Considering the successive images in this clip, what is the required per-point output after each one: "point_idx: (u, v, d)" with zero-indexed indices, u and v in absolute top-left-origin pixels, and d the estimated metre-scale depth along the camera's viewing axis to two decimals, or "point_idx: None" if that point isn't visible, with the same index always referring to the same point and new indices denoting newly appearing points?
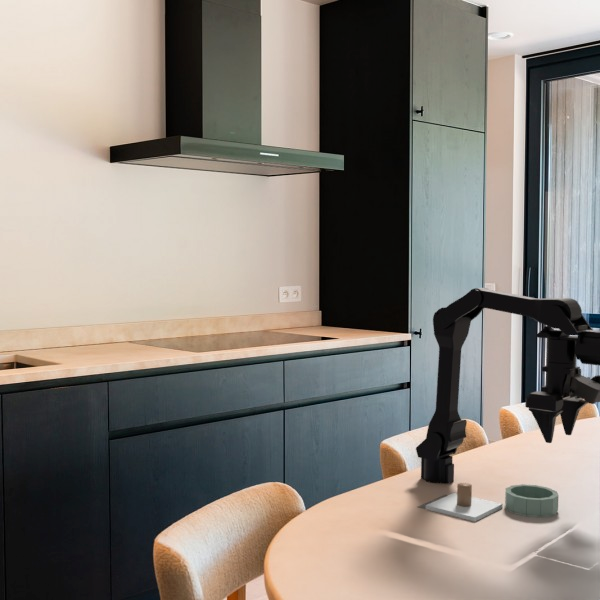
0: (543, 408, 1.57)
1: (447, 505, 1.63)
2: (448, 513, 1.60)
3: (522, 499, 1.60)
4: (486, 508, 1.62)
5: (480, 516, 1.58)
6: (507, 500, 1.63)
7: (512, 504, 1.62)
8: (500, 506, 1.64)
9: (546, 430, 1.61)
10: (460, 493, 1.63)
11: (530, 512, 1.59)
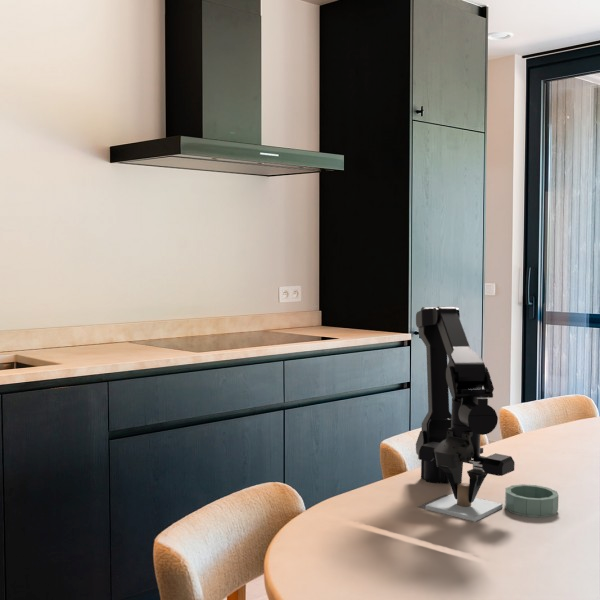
0: None
1: (447, 505, 1.63)
2: (448, 513, 1.60)
3: (522, 499, 1.60)
4: (486, 508, 1.62)
5: (480, 516, 1.58)
6: (507, 500, 1.63)
7: (512, 504, 1.62)
8: (500, 506, 1.64)
9: None
10: (460, 493, 1.63)
11: (530, 512, 1.59)
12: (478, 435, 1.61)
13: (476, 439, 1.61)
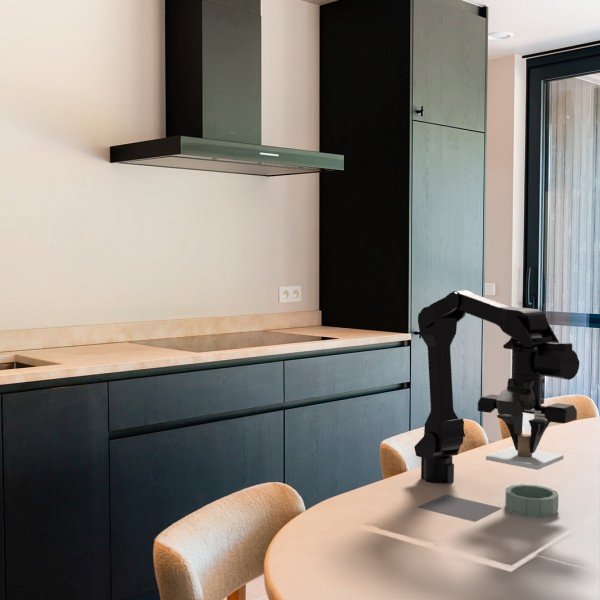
0: None
1: (507, 456, 1.62)
2: (509, 463, 1.59)
3: (522, 499, 1.60)
4: (547, 458, 1.61)
5: (542, 465, 1.57)
6: (507, 500, 1.63)
7: (512, 504, 1.62)
8: (561, 457, 1.63)
9: None
10: (521, 443, 1.62)
11: (530, 512, 1.59)
12: (539, 384, 1.60)
13: (537, 389, 1.60)
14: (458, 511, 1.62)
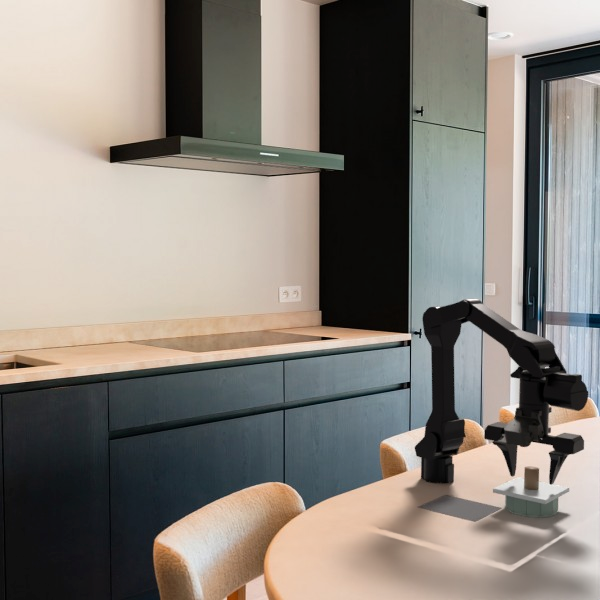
0: None
1: (514, 488, 1.63)
2: (517, 496, 1.60)
3: (522, 499, 1.60)
4: (554, 491, 1.62)
5: (550, 499, 1.58)
6: (507, 500, 1.63)
7: (512, 504, 1.62)
8: (567, 489, 1.64)
9: None
10: (527, 476, 1.63)
11: (530, 512, 1.59)
12: (547, 414, 1.61)
13: (545, 418, 1.61)
14: (458, 511, 1.62)
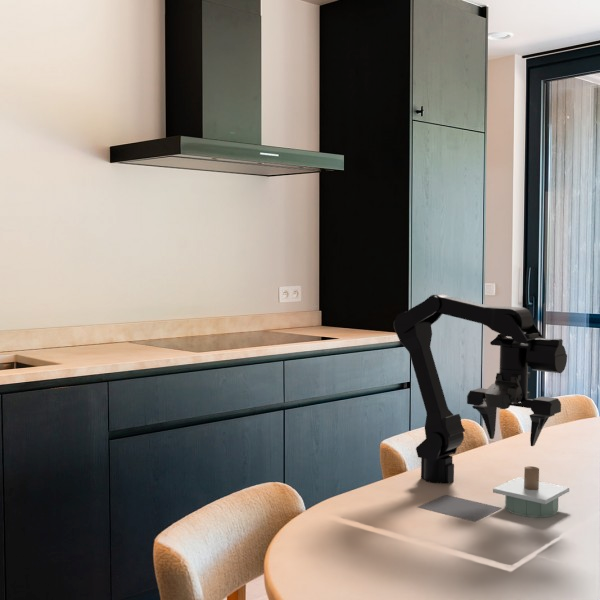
0: None
1: (514, 488, 1.63)
2: (517, 496, 1.60)
3: (522, 499, 1.60)
4: (554, 491, 1.62)
5: (550, 499, 1.58)
6: (507, 500, 1.63)
7: (512, 504, 1.62)
8: (567, 489, 1.64)
9: None
10: (527, 476, 1.63)
11: (530, 512, 1.59)
12: (526, 379, 1.69)
13: (524, 383, 1.69)
14: (458, 511, 1.62)
